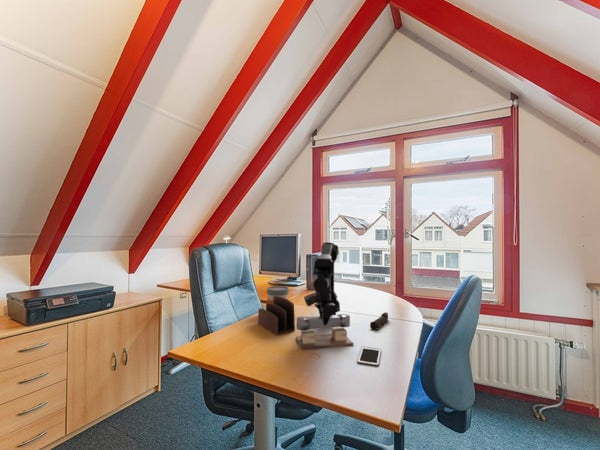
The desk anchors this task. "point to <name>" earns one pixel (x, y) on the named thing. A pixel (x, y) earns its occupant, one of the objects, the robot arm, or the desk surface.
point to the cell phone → (369, 356)
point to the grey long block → (317, 322)
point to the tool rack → (323, 339)
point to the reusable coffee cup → (277, 292)
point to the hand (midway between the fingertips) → (323, 323)
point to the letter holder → (278, 316)
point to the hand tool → (379, 321)
